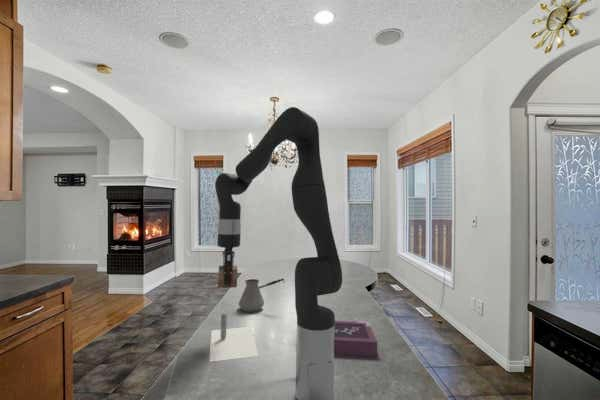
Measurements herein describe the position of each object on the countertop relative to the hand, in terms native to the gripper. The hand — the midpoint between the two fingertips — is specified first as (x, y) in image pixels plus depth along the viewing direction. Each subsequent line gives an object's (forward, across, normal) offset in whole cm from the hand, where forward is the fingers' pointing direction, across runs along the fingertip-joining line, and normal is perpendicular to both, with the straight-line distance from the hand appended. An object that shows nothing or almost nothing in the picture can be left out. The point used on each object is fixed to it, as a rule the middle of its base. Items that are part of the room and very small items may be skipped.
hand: (227, 281), depth 96 cm
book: (+21, -8, -36) cm, 43 cm away
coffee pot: (+21, +29, -16) cm, 39 cm away
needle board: (+20, -4, -2) cm, 21 cm away
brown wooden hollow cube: (+1, 0, 0) cm, 1 cm away
